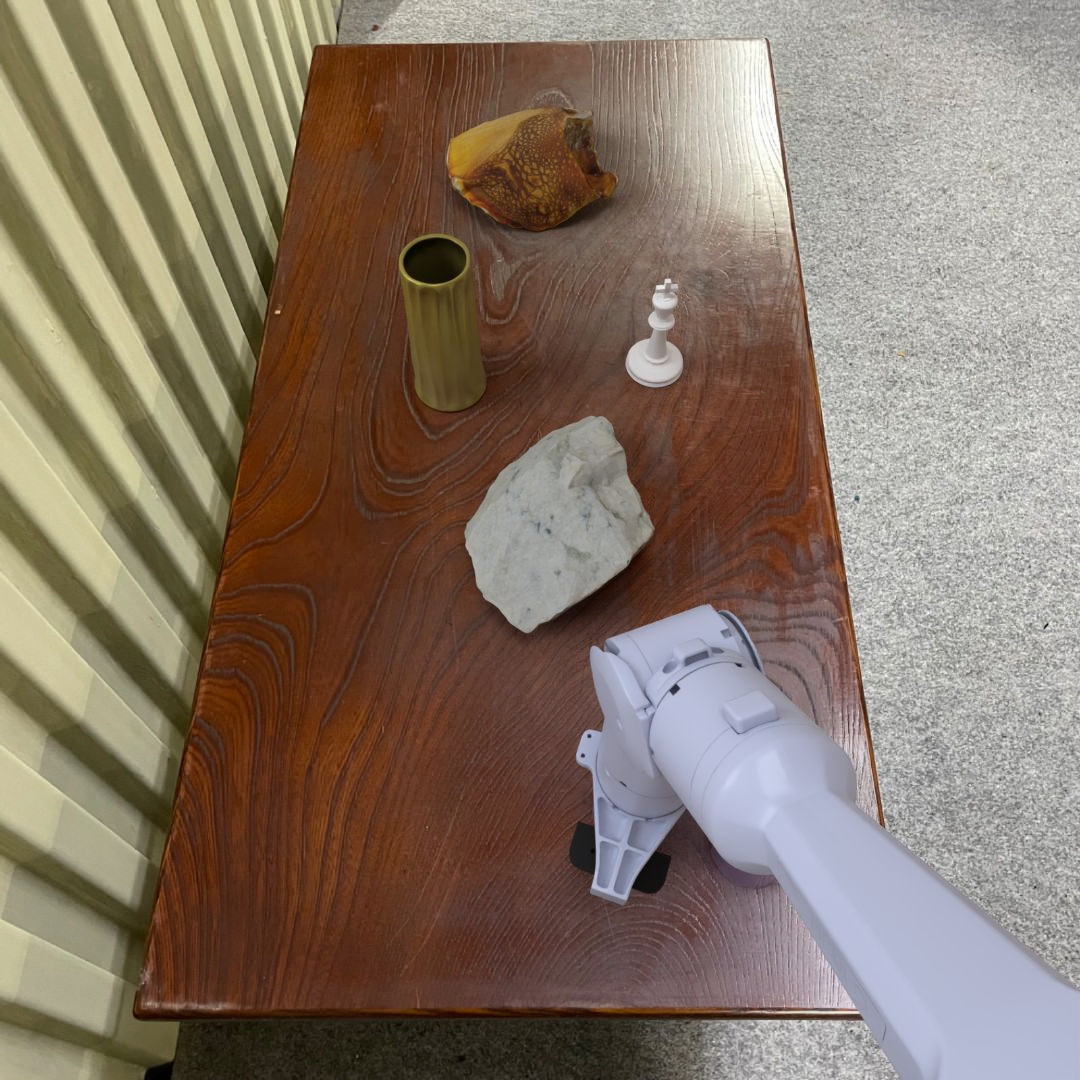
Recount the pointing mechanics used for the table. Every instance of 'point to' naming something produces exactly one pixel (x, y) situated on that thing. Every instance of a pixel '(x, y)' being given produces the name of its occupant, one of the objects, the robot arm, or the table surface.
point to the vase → (442, 322)
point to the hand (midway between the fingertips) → (632, 804)
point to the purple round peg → (741, 873)
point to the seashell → (530, 166)
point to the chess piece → (657, 344)
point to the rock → (557, 524)
